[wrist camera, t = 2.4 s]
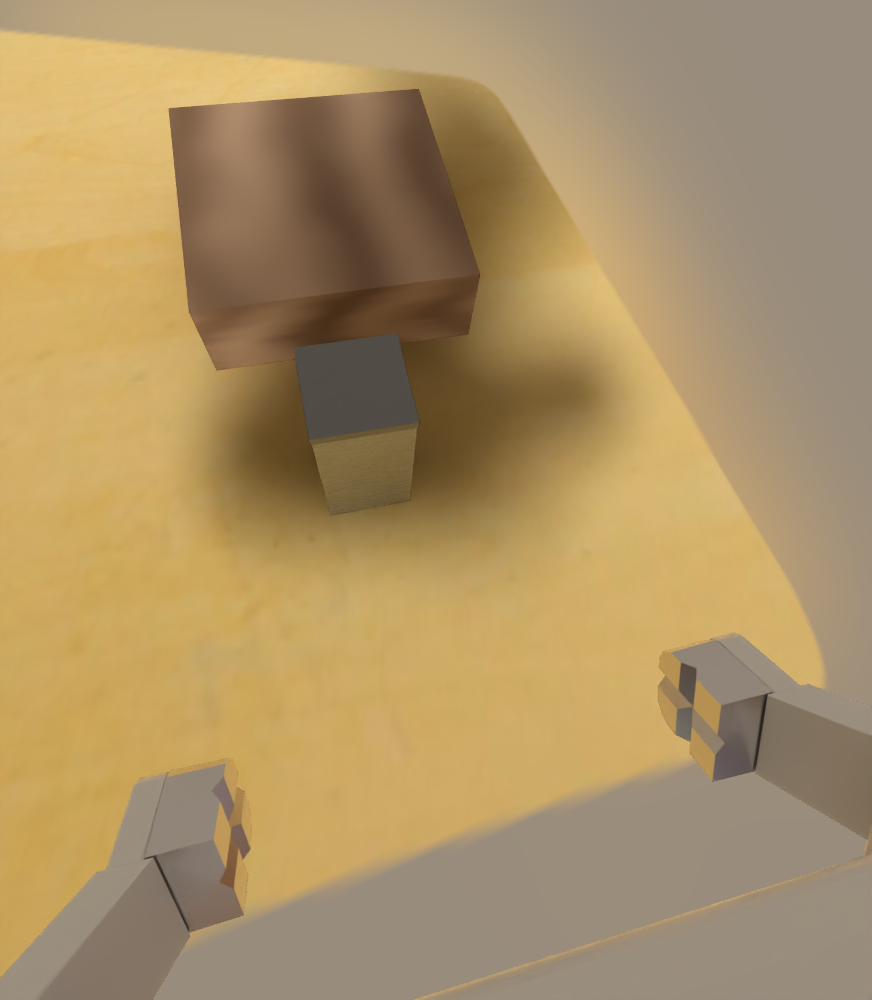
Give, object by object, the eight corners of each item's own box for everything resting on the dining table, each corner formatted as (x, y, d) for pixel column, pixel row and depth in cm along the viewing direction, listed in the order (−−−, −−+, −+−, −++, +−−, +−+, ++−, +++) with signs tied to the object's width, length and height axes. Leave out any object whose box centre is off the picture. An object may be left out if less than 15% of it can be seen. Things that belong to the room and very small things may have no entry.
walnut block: (218, 374, 31) (189, 312, 27) (196, 188, 36) (168, 108, 31) (467, 337, 33) (480, 274, 29) (415, 166, 38) (418, 89, 34)
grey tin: (329, 516, 28) (309, 440, 21) (316, 443, 30) (293, 347, 22) (411, 501, 29) (419, 422, 22) (394, 430, 30) (397, 333, 23)
